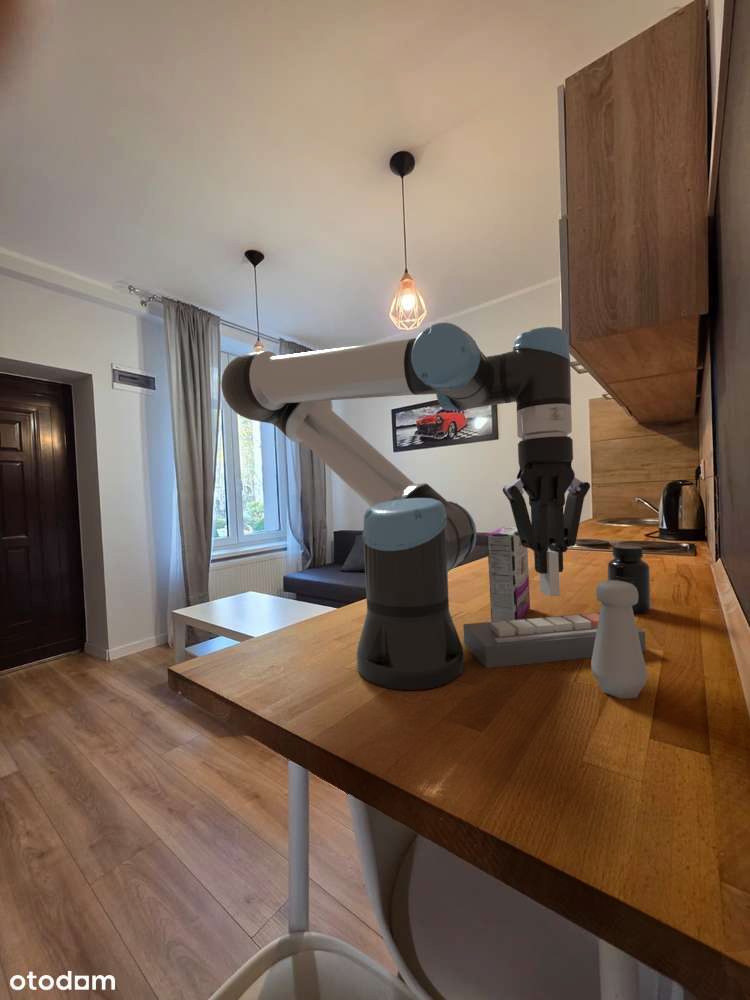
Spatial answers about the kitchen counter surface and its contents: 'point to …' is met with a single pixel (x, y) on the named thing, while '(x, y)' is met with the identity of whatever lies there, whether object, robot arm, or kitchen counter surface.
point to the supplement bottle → (632, 573)
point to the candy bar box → (508, 575)
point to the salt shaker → (618, 642)
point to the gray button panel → (534, 639)
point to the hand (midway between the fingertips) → (549, 593)
